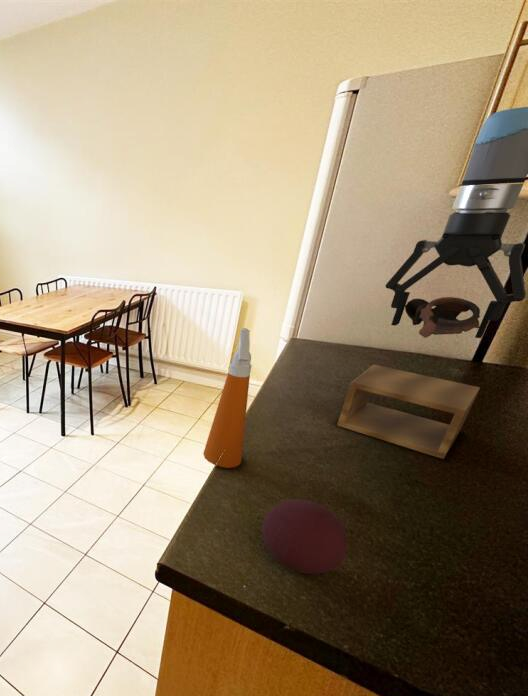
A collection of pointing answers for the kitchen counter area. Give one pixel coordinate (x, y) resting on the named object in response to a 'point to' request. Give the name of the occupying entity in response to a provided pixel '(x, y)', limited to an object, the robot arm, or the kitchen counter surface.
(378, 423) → the tan open box
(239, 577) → the kitchen counter surface
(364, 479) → the kitchen counter surface
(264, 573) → the kitchen counter surface
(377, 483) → the kitchen counter surface
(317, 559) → the decorative ball
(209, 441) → the spray bottle
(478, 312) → the pottery mug
